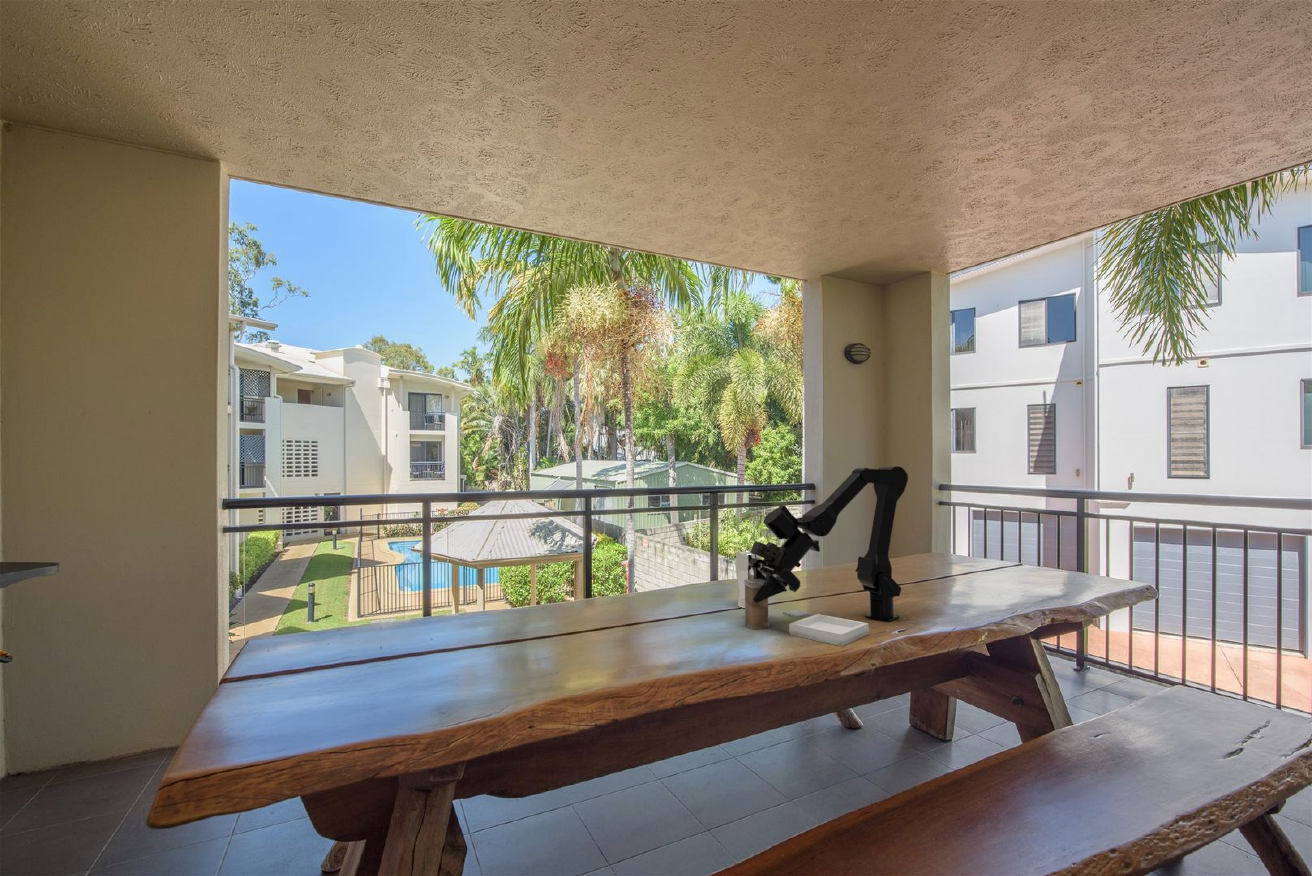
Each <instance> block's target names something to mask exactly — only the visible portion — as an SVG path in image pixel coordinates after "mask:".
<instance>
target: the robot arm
mask: <svg viewBox="0 0 1312 876" xmlns="http://www.w3.org/2000/svg"><path fill="white" fill-rule="evenodd" d="M908 482H909V474H908V472H907V471H906V470H905V469H904V468H903V467H902V466H895V465H894V466H880V467H879V468H869V467H857V468H854V469H853V470H852V472H851V474H850V475H848V477H846V479H845V480H844V481H842V483H841V484H840V485H839V486H838V487H837V488H836V489H835V490H834V491H833V492H832V493H831V494H830V496H828V497H827V499H826V500H824V501H823V502H821V504H818V505H816V506H814V507H812V508H811V509H810V510H808V511H807V512H805V513H804V514H802V516H801V517H795V516H794V514H792V513H791V512H790V511H789V508H788V507H787V506H786V505H779V506H778V507H777V508H775V509H774V510H771V512H769V513H767V514H766V515H765V517H764V518H763V522H762V523H763V524H764V525H765V526H766V528H767V529H769V531H771V533H772V534H773V535H774V536H775V537H776V538H777V539H778V540H785V541H784V542H783V544H781V546H778V545H777V544H775V543H773V542H770V541H769V542H767V543H762V542H760V541H757V540H754V542H753V544H752V547H751V549H750V553H752V554H756V555H758V556H760V559H759V558H752V559H751V560H750V561H749V563H748V564H749V565H750V566H751V567H752V569H753V571H754V578H753V579H762V580H765V582H764V584H763V585H762V587H761V588H760V590H759V591H758V593H757V594H756V596H755V598H754V601H755V602H756V603H758V602H760V601H762V600H764V599H767V598H768V599H769V598H772V597H773V596H776V595H778V594H781V593H784V592H788V590H789V591H791V592H794V593H796V592H797V591H798V590H799V589H800V588H801V580H800V579H799V578H798V577H797V576H796V575H795V574H794V573H793V572H792V571H793V570H794V569H795V568H800V567H801V565H802V564H801V563H800V562H801V561H802V559H803V558H805V556H806V555H807V553H808V552H809V551H810V550H811V551H814V552H818V553H819V552H820V551H821V550H820V549H821V548H820V541H819V540H816V539H813V538H812V537H811V536H815V537H826V536H828V535H829V533H830V532H831V531H832V530H833V528H834V526H835V525H836V523H837V520H838V517H839V515H840V513H842V512H843V510H844V509H845V508H846V507H847V506H848V505H849V503H851V501H853V499H855V497H857V495H858V494H859V493H860V492H861V491H862V490H863V489H864V488H865V487H866V486H867V485H868V484H873V489H874V493H875V495H876V504H875V509H874V515H873V522H872V527H871V534H870V539H869V546H868V550H867V552H866V554H865V555H864V556H860V555H859V556H858V559H857V567H856V569H855V572H857V573H856V575H857V580H858V582H860V584H861V586H862V589H863V591H865V592H869V613H867V614H865V615H864V618H868V619H873V620H878V621H884V622H885V621H886V622H891V621H894V620H896V619H898V618H900V615H899V614H895V607H894V598H895V597H899V596H900V595H901V591H902V587H901V586H900V585H899V584H898V583H897V582H896V581H895V579H893V578H892V577H893V568H892V567H893V566H892V564H891V561H890V557H889V554H890V553H889V551H890V546H891V545H890V544H891V539H892V535H893V528H894V521H895V515H896V509H897V503H898V500H900V498H901V497H902V495H903V494H904V492H905V490H906V488H907V484H908ZM800 529H802V531H803V532H802V531H801V530H800ZM786 587H788V590H787V588H786Z"/></svg>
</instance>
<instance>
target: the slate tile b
mask: <svg viewBox="0 0 1312 876" xmlns="http://www.w3.org/2000/svg"><path fill="white" fill-rule="evenodd" d="M783 614H785V615H784V616H786V615H788V616H787V617H790V618H794V619H797V618H798V619H804V618H807V617H810V616H811V612H806V611H803V610H798V609H793V610H792V609H791V610H787V611H782V615H783Z"/></svg>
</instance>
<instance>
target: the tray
mask: <svg viewBox="0 0 1312 876" xmlns="http://www.w3.org/2000/svg"><path fill="white" fill-rule="evenodd" d="M788 625H789V626H788V627H789V632H788V633H789V635H790V636H794V635H795V636H794V637H798V638H799V637H800V638H804V639H807V640H808V639H809V640H813V641H816V642H821V643H825V644H829V645H834V646H837V647H838V646H840V647H843V646H846V645H848V644H850V643H853V642H855V641H857V640H859V639H862V638H864V637H866V636H869V635H870V633H869V630H870V629H869V627H870V626H869V623H867V622H862V621H857V620H851V619H846V618H842V617H837V616H831V615H825V614H820V613H816V614H814V615H810V616H808V617H803V618H800V619H799V620H796V621H792V622H790V623H789V624H788Z"/></svg>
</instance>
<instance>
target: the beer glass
mask: <svg viewBox="0 0 1312 876" xmlns="http://www.w3.org/2000/svg"><path fill="white" fill-rule="evenodd" d="M750 551H751V550H750ZM750 551H749V550H748V551H745V550H744V551H737V552H736V558H735V575H736V583H737V587H738V601H737V607H738V606H740V607H742V608H741V609H743V608H745V585H744V580H749V579H753V578H754V571H753V569H752V567H751V566H750V565H749V564H748V563H749V561H750V560H751V559H752V558H759V559H761V557H760V556H758V555H756V554H752V553H750ZM740 607H739V608H740Z"/></svg>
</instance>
